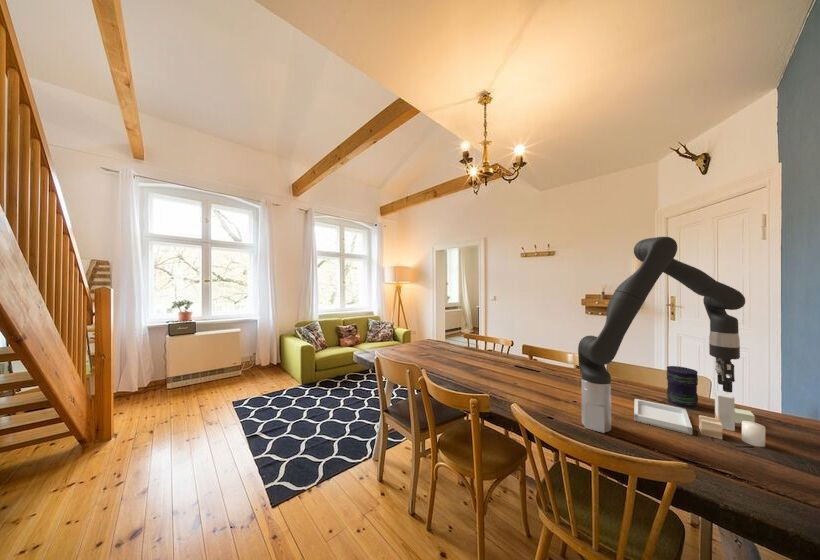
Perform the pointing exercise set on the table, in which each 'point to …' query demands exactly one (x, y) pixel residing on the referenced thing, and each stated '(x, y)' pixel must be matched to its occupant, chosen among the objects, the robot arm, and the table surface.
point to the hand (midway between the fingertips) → (724, 388)
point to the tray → (662, 416)
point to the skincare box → (725, 410)
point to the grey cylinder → (753, 433)
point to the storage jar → (682, 387)
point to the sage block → (743, 416)
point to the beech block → (710, 427)
